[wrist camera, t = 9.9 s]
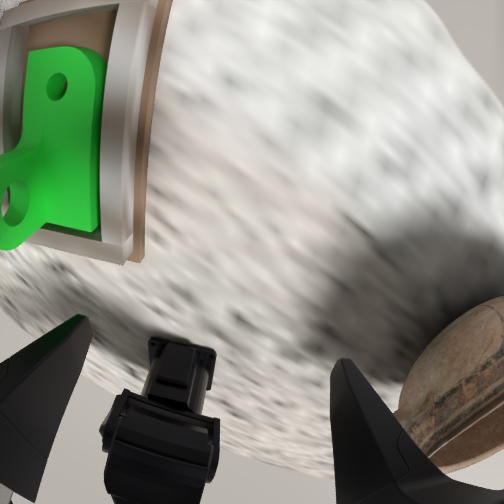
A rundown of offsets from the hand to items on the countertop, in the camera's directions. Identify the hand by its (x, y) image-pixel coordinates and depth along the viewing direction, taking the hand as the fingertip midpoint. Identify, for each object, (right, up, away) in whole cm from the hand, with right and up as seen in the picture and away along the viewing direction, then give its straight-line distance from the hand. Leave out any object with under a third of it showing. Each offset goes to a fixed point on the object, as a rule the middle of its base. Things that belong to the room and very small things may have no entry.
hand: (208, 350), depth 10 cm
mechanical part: (-11, +11, +7) cm, 17 cm away
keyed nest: (-11, +13, +7) cm, 18 cm away
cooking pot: (+24, -5, +16) cm, 29 cm away
